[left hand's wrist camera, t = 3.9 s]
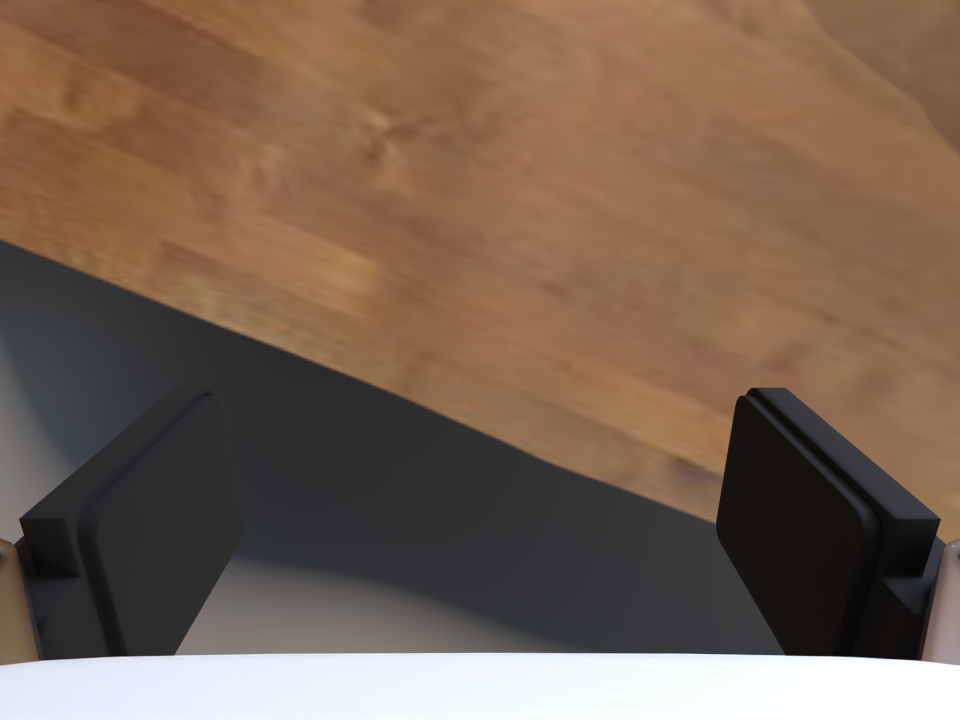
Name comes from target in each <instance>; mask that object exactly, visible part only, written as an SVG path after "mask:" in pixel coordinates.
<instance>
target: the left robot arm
mask: <svg viewBox="0 0 960 720" xmlns="http://www.w3.org/2000/svg"><path fill="white" fill-rule="evenodd" d="M19 521H20V524H21V527H22V530H23V533H24V536H23V537H22V538H21V539H20V540H19V541H17V542H16V543H15V544H14V545H13V544H12V543H11V542H8V541H6V540H3V539H0V720H960V539H957V540H954V541H952V542H949V543H948V544H947V545H946V544H945V543H944V542H943V541H942V540H940V539H939V538H938V537H937V536H936V533H937V530H938V527H939V524H940V521H941V519H940V518H939V517H938V516H937V515H936V514H934V513H933V512H932V511H931V510H930V509H928V508H927V507H926V506H925V505H924V504H923V503H921V502H920V501H919V500H918V499H917V498H915V497H914V496H913V495H912V494H911V493H909V492H908V491H907V490H906V489H905V488H904V487H902V486H901V485H900V484H899V483H898V482H896V481H895V480H894V479H893V478H892V477H891V476H889V475H888V474H887V473H886V472H885V471H883V470H882V469H881V468H880V467H879V466H878V465H876V464H875V463H874V462H873V461H872V460H870V459H869V458H868V457H867V456H866V455H864V454H863V453H862V452H861V451H860V450H859V449H857V448H856V447H855V446H854V445H853V444H851V443H850V442H849V441H848V440H847V439H846V438H844V437H843V436H842V435H841V434H840V433H838V432H837V431H836V430H835V429H834V428H832V427H831V426H830V425H829V424H828V423H827V422H825V421H824V420H823V419H822V418H821V417H819V416H818V415H817V414H816V413H815V412H814V411H812V410H811V409H810V408H809V407H808V406H806V405H805V404H804V403H803V402H802V401H801V400H799V399H798V398H797V397H796V396H795V395H793V394H792V393H791V392H790V391H789V390H787V389H785V388H751V389H750V390H749V391H748V392H747V394H746V396H740V397H739V398H738V399H737V402H736V405H735V411H734V417H733V423H732V430H731V436H730V442H729V448H728V454H727V460H726V466H725V472H724V478H723V484H722V490H721V496H720V502H719V508H718V514H717V521H716V529H717V535H718V538H719V541H720V543H721V545H722V546H723V548H724V550H725V551H726V553H727V555H728V557H729V558H730V560H731V562H732V563H733V565H734V567H735V569H736V570H737V572H738V574H739V576H740V577H741V579H742V581H743V582H744V584H745V586H746V588H747V589H748V591H749V593H750V594H751V596H752V598H753V600H754V601H755V603H756V605H757V606H758V608H759V610H760V611H761V613H762V615H763V617H764V618H765V620H766V622H767V624H768V625H769V627H770V629H771V630H772V632H773V634H774V636H775V637H776V639H777V641H778V642H779V644H780V646H781V648H782V649H783V651H784V653H785V654H786V656H771V655H718V654H588V653H586V654H583V653H373V654H242V655H188V656H174V654H175V653H176V651H177V649H178V648H179V646H180V644H181V642H182V641H183V639H184V637H185V636H186V634H187V632H188V630H189V629H190V627H191V625H192V624H193V622H194V620H195V618H196V617H197V615H198V613H199V612H200V610H201V608H202V606H203V605H204V603H205V601H206V599H207V598H208V596H209V594H210V593H211V591H212V589H213V588H214V586H215V584H216V582H217V581H218V579H219V577H220V576H221V574H222V572H223V570H224V569H225V567H226V565H227V563H228V562H229V560H230V558H231V557H232V555H233V553H234V551H235V550H236V548H237V546H238V545H239V543H240V541H241V538H242V535H243V529H244V521H243V514H242V508H241V502H240V496H239V490H238V484H237V478H236V472H235V466H234V460H233V454H232V448H231V442H230V436H229V430H228V423H227V417H226V411H225V406H224V402H223V399H222V398H221V397H220V396H214V394H213V392H212V391H211V390H210V389H209V388H175V389H173V390H171V391H170V392H169V393H168V394H167V395H165V396H164V397H163V398H162V399H161V400H160V401H158V402H157V403H156V404H155V405H154V406H152V407H151V408H150V409H149V410H148V411H147V412H145V413H144V414H143V415H142V416H141V417H139V418H138V419H137V420H136V421H135V422H133V423H132V424H131V425H130V426H129V427H128V428H126V429H125V430H124V431H123V432H122V433H120V434H119V435H118V436H117V437H116V438H114V439H113V440H112V441H111V442H110V443H109V444H107V445H106V446H105V447H104V448H103V449H101V450H100V451H99V452H98V453H97V454H96V455H94V456H93V457H92V458H91V459H90V460H88V461H87V462H86V463H85V464H84V465H82V466H81V467H80V468H79V469H78V470H77V471H75V472H74V473H73V474H72V475H71V476H69V477H68V478H67V479H66V480H65V481H64V482H62V483H61V484H60V485H59V486H58V487H56V488H55V489H54V490H53V491H52V492H51V493H49V494H48V495H47V496H46V497H45V498H43V499H42V500H41V501H40V502H39V503H37V504H36V505H35V506H34V507H33V508H32V509H30V510H29V511H28V512H27V513H26V514H24V515H23V516H22V517H21V518H20V519H19Z"/></svg>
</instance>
